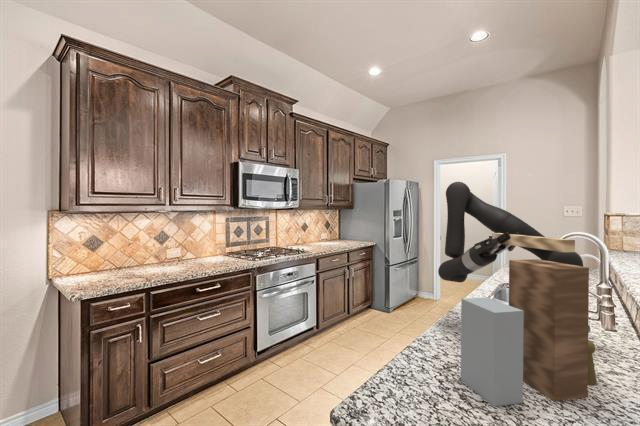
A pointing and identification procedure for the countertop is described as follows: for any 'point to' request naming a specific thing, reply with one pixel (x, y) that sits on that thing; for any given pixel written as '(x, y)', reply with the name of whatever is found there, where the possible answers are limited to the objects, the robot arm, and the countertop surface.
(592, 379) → the cork
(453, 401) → the countertop surface
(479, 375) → the grey rectangular block
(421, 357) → the countertop surface
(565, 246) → the beech bar
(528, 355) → the tall walnut stand
